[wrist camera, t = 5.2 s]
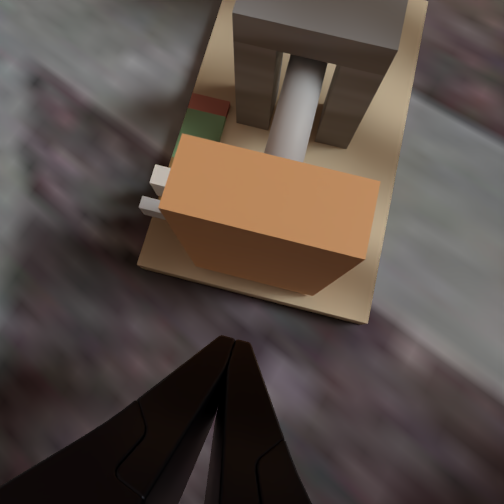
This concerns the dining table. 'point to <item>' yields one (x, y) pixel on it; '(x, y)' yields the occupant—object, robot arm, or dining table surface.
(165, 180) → the tell-tale marker
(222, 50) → the wooden base with posts
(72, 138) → the dining table surface
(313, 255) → the plunger
